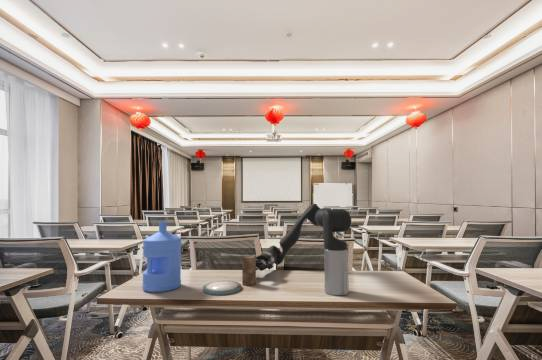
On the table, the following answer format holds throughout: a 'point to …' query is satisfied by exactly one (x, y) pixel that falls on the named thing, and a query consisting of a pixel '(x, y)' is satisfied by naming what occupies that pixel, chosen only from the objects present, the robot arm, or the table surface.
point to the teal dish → (221, 288)
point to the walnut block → (249, 270)
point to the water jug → (162, 261)
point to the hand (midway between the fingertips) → (252, 267)
